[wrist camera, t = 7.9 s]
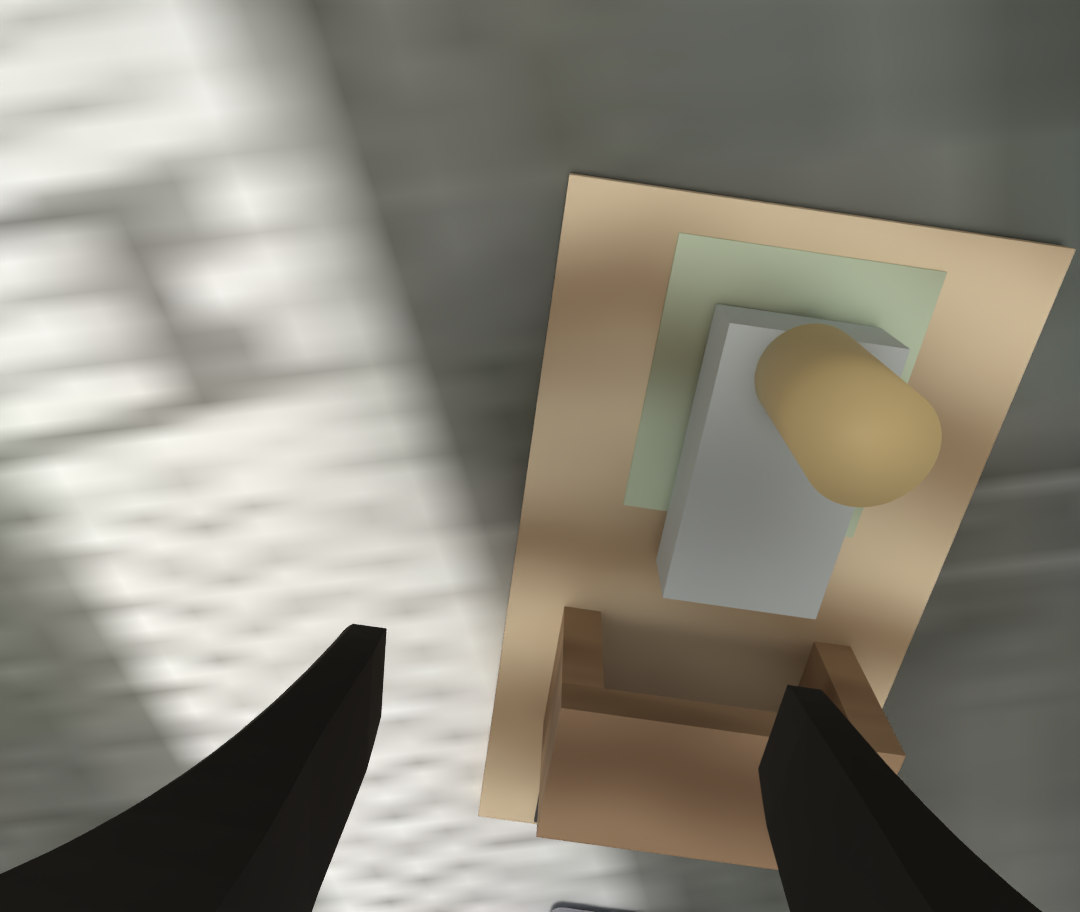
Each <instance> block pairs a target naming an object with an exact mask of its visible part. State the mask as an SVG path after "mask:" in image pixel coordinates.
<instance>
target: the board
mask: <svg viewBox="0 0 1080 912" xmlns="http://www.w3.org/2000/svg"><path fill="white" fill-rule="evenodd" d="M1075 250H1076V249H1073V248H1069V247H1066V246H1062V245H1055V244H1048V243H1042V242H1035V241H1028V240H1021V239H1015V238H1008V237H1001V236H994V235H988V234H981V233H974V232H967V231H961V230H954V229H947V228H940V227H933V226H927V225H920V224H913V223H906V222H900V221H893V220H886V219H879V218H873V217H866V216H859V215H852V214H845V213H839V212H832V211H825V210H818V209H812V208H805V207H798V206H791V205H785V204H778V203H771V202H764V201H757V200H751V199H744V198H737V197H730V196H724V195H717V194H710V193H703V192H697V191H690V190H683V189H676V188H670V187H663V186H656V185H649V184H642V183H636V182H629V181H622V180H615V179H609V178H602V177H595V176H588V175H582V174H575V173H570V175H569V182H568V189H567V196H566V203H565V210H564V217H563V224H562V231H561V238H560V245H559V252H558V259H557V266H556V273H555V280H554V287H553V294H552V301H551V308H550V315H549V322H548V329H547V336H546V343H545V350H544V357H543V364H542V371H541V378H540V385H539V392H538V399H537V406H536V414H535V421H534V428H533V435H532V442H531V449H530V456H529V463H528V470H527V477H526V484H525V491H524V498H523V505H522V512H521V519H520V526H519V533H518V540H517V547H516V554H515V561H514V568H513V575H512V582H511V589H510V596H509V603H508V610H507V617H506V624H505V631H504V638H503V645H502V652H501V659H500V666H499V673H498V680H497V688H496V695H495V702H494V709H493V716H492V723H491V730H490V737H489V744H488V751H487V758H486V765H485V772H484V779H483V786H482V793H481V800H480V807H479V814H478V816H482V817H489V818H496V819H503V820H511V821H518V822H525V823H532V824H537V819H538V802H539V786H540V769H541V753H542V736H543V722H544V716H545V711H546V705H547V700H548V694H549V688H550V683H551V677H552V672H553V666H554V661H555V655H556V650H557V644H558V638H559V633H560V627H561V622H562V616H563V611H564V606H566V607H573V608H580V609H587V610H594V611H601V624H602V648H603V672H604V688H605V689H612V690H620V691H627V692H634V693H641V694H648V695H655V696H663V697H670V698H677V699H684V700H691V701H698V702H705V703H713V704H720V705H727V706H734V707H741V708H748V709H756V710H763V711H770V712H777V713H778V710H779V707H780V704H781V701H782V699H783V696H784V693H785V690H786V687H787V685H793V686H799V683H800V680H801V677H802V674H803V672H804V669H805V666H806V663H807V660H808V657H809V655H810V652H811V649H812V646H813V643H814V642H821V643H828V644H835V645H843V646H850V647H851V648H852V650H853V652H854V654H855V656H856V658H857V660H858V662H859V664H860V666H861V668H862V670H863V672H864V674H865V676H866V678H867V680H868V682H869V684H870V686H871V688H872V690H873V692H874V694H875V696H876V698H877V700H878V702H879V704H880V706H881V708H883V706H884V703H885V701H886V698H887V696H888V694H889V691H890V689H891V687H892V684H893V682H894V679H895V677H896V675H897V672H898V670H899V668H900V665H901V663H902V661H903V658H904V656H905V653H906V651H907V649H908V646H909V644H910V642H911V639H912V637H913V634H914V632H915V630H916V627H917V625H918V623H919V620H920V618H921V615H922V613H923V611H924V608H925V606H926V604H927V601H928V599H929V596H930V594H931V592H932V589H933V587H934V585H935V582H936V580H937V578H938V575H939V573H940V570H941V568H942V566H943V563H944V561H945V559H946V556H947V554H948V551H949V549H950V547H951V544H952V542H953V540H954V537H955V535H956V532H957V530H958V528H959V525H960V523H961V521H962V518H963V516H964V513H965V511H966V509H967V506H968V504H969V502H970V499H971V497H972V494H973V492H974V490H975V487H976V485H977V483H978V480H979V478H980V476H981V473H982V471H983V468H984V466H985V464H986V461H987V459H988V457H989V454H990V452H991V449H992V447H993V445H994V442H995V440H996V438H997V435H998V433H999V430H1000V428H1001V426H1002V423H1003V421H1004V419H1005V416H1006V414H1007V411H1008V409H1009V407H1010V404H1011V402H1012V400H1013V397H1014V395H1015V393H1016V390H1017V388H1018V385H1019V383H1020V381H1021V378H1022V376H1023V374H1024V371H1025V369H1026V366H1027V364H1028V362H1029V359H1030V357H1031V355H1032V352H1033V350H1034V347H1035V345H1036V343H1037V340H1038V338H1039V336H1040V333H1041V331H1042V328H1043V326H1044V324H1045V321H1046V319H1047V317H1048V314H1049V312H1050V309H1051V307H1052V305H1053V302H1054V300H1055V298H1056V295H1057V293H1058V291H1059V288H1060V286H1061V283H1062V281H1063V279H1064V276H1065V274H1066V272H1067V269H1068V267H1069V264H1070V262H1071V260H1072V257H1073V255H1074V253H1075ZM716 304H722V305H728V306H735V307H742V308H749V309H756V310H763V311H769V312H776V313H783V314H790V315H797V316H804V317H811V318H817V319H824V320H831V321H838V322H845V323H852V324H858V325H865V326H872V327H879V328H882V329H883V330H884V331H886V332H887V333H889V334H890V335H891V336H893V337H894V338H896V339H897V340H898V341H900V342H901V343H903V344H904V345H905V346H907V347H908V348H909V349H910V352H909V355H908V358H907V361H906V364H905V367H904V369H903V372H902V375H901V379H902V380H903V381H905V382H906V383H907V384H908V385H909V386H911V387H912V388H913V389H914V390H915V391H917V392H918V393H919V394H920V395H921V396H923V397H924V398H925V399H926V400H927V401H928V402H929V403H930V404H931V406H932V407H933V408H934V410H935V412H936V414H937V416H938V418H939V421H940V425H941V432H942V441H941V447H940V451H939V455H938V458H937V460H936V462H935V464H934V466H933V467H932V469H931V471H930V472H929V474H928V475H927V476H926V477H925V478H924V480H923V481H922V482H921V483H920V484H919V485H918V486H916V487H915V488H914V489H913V490H911V491H910V492H909V493H907V494H905V495H904V496H902V497H900V498H898V499H896V500H894V501H891V502H889V503H886V504H882V505H878V506H872V507H855V509H854V512H853V515H852V517H851V520H850V523H849V526H848V529H847V532H846V534H845V537H844V540H843V543H842V546H841V549H840V552H839V554H838V557H837V560H836V563H835V566H834V569H833V571H832V574H831V577H830V580H829V583H828V586H827V589H826V591H825V594H824V597H823V600H822V603H821V606H820V609H819V611H818V614H817V617H816V619H809V618H802V617H795V616H788V615H781V614H774V613H767V612H760V611H753V610H746V609H739V608H732V607H724V606H717V605H710V604H703V603H696V602H689V601H682V600H675V599H668V598H662V592H661V586H660V580H659V574H658V568H657V562H656V558H657V554H658V550H659V545H660V541H661V537H662V532H663V528H664V524H665V520H666V515H667V511H668V507H669V503H670V498H671V494H672V490H673V485H674V481H675V477H676V473H677V468H678V464H679V460H680V456H681V451H682V447H683V443H684V438H685V434H686V430H687V426H688V421H689V417H690V413H691V409H692V404H693V400H694V396H695V392H696V387H697V383H698V379H699V374H700V370H701V366H702V362H703V357H704V353H705V349H706V345H707V340H708V336H709V332H710V327H711V323H712V319H713V315H714V310H715V306H716Z"/></svg>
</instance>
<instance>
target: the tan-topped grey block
mask: <svg viewBox="0 0 1080 912" xmlns="http://www.w3.org/2000/svg"><path fill="white" fill-rule="evenodd" d="M909 352H910V349H909V348H908V347H907V346H905V345H904V344H903V343H901V342H900V341H898V340H897V339H896V338H894V337H893V336H891V335H890V334H889V333H887V332H886V331H884V330H883V329H882V328H879V327H872V326H865V325H858V324H852V323H845V322H838V321H831V320H824V319H817V318H811V317H804V316H797V315H790V314H783V313H776V312H769V311H763V310H756V309H749V308H742V307H735V306H728V305H722V304H716V306H715V310H714V315H713V319H712V323H711V327H710V332H709V336H708V340H707V345H706V349H705V353H704V357H703V362H702V366H701V370H700V374H699V379H698V383H697V387H696V392H695V396H694V400H693V404H692V409H691V413H690V417H689V421H688V426H687V430H686V434H685V438H684V443H683V447H682V451H681V456H680V460H679V464H678V468H677V473H676V477H675V481H674V485H673V490H672V494H671V498H670V503H669V507H668V511H667V515H666V520H665V524H664V528H663V532H662V537H661V541H660V545H659V550H658V554H657V558H656V562H657V568H658V574H659V580H660V586H661V592H662V598H668V599H675V600H682V601H689V602H696V603H703V604H710V605H717V606H724V607H732V608H739V609H746V610H753V611H760V612H767V613H774V614H781V615H788V616H795V617H802V618H809V619H816V617H817V614H818V611H819V609H820V606H821V603H822V600H823V597H824V594H825V591H826V589H827V586H828V583H829V580H830V577H831V574H832V571H833V569H834V566H835V563H836V560H837V557H838V554H839V552H840V549H841V546H842V543H843V540H844V537H845V534H846V532H847V529H848V526H849V523H850V520H851V517H852V515H853V512H854V509H855V507H872V506H878V505H882V504H886V503H889V502H891V501H894V500H896V499H898V498H900V497H902V496H904V495H905V494H907V493H909V492H910V491H911V490H913V489H914V488H915V487H916V486H918V485H919V484H920V483H921V482H922V481H923V480H924V478H925V477H926V476H927V475H928V474H929V472H930V471H931V469H932V467H933V466H934V464H935V462H936V460H937V458H938V455H939V451H940V447H941V441H942V432H941V425H940V421H939V418H938V416H937V414H936V412H935V410H934V408H933V407H932V406H931V404H930V403H929V402H928V401H927V400H926V399H925V398H924V397H923V396H921V395H920V394H919V393H918V392H917V391H915V390H914V389H913V388H912V387H911V386H909V385H908V384H907V383H906V382H905V381H903V380H902V379H901V375H902V372H903V369H904V367H905V364H906V361H907V358H908V355H909Z"/></svg>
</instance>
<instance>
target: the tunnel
mask: <svg viewBox="0 0 1080 912" xmlns="http://www.w3.org/2000/svg"><path fill="white" fill-rule="evenodd" d="M799 686H800V687H807V688H814V689H821V690H822V691H823V692H824V693H825V694H826V695H827V696H828V697H829V698H830V700H831V701H832V702H833V703H834V704H835V705H836V706H837V707H838V709H839V710H840V711H841V712H842V713H843V714H844V716H845V717H846V718H847V719H848V720H849V721H850V722H851V724H852V725H853V726H854V727H855V728H856V729H857V731H858V732H859V733H860V734H861V735H862V736H863V737H864V739H865V740H866V741H867V742H868V743H869V744H870V745H871V747H872V748H873V749H874V750H875V751H876V752H877V753H878V755H879V756H880V757H881V758H882V759H883V760H884V761H885V762H886V764H887V765H888V766H889V767H890V768H891V769H892V770H893V771H894V772H895V774H896V775H897V774H898V772H899V770H900V768H901V766H902V763H903V761H904V759H905V757H906V755H905V753H904V751H903V749H902V747H901V745H900V743H899V741H898V739H897V737H896V735H895V733H894V731H893V730H892V728H891V726H890V724H889V722H888V720H887V718H886V716H885V714H884V712H883V710H882V708H881V706H880V704H879V702H878V700H877V698H876V696H875V694H874V692H873V690H872V688H871V686H870V684H869V682H868V680H867V678H866V676H865V674H864V672H863V670H862V668H861V666H860V664H859V662H858V660H857V658H856V656H855V654H854V652H853V650H852V648H851V647H850V646H843V645H835V644H828V643H821V642H814V643H813V646H812V649H811V652H810V655H809V657H808V660H807V663H806V666H805V669H804V672H803V674H802V677H801V680H800V683H799ZM776 716H777V712H770V711H763V710H756V709H748V708H741V707H734V706H727V705H720V704H713V703H705V702H698V701H691V700H684V699H677V698H670V697H663V696H655V695H648V694H641V693H634V692H627V691H620V690H612V689H605V688H604V672H603V648H602V624H601V611H594V610H587V609H580V608H573V607H566V606H564V611H563V616H562V622H561V627H560V633H559V638H558V644H557V650H556V655H555V661H554V666H553V672H552V677H551V683H550V688H549V694H548V700H547V705H546V711H545V716H544V722H543V736H542V753H541V769H540V786H539V802H538V819H537V836H536V837H541V838H549V839H556V840H563V841H570V842H578V843H585V844H592V845H600V846H607V847H614V848H621V849H629V850H636V851H643V852H651V853H658V854H665V855H672V856H680V857H687V858H694V859H702V860H709V861H716V862H724V863H731V864H738V865H745V866H753V867H760V868H767V869H775V870H778V867H777V863H776V859H775V856H774V852H773V848H772V845H771V841H770V837H769V833H768V830H767V826H766V820H765V814H764V808H763V801H762V794H761V787H760V779H759V772H758V768H759V765H760V762H761V759H762V756H763V753H764V750H765V748H766V745H767V742H768V739H769V736H770V733H771V730H772V727H773V725H774V722H775V719H776Z"/></svg>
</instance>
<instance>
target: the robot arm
mask: <svg viewBox="0 0 1080 912" xmlns="http://www.w3.org/2000/svg"><path fill="white" fill-rule="evenodd" d="M385 645H386V628H379V627H372V626H365V625H357V624H352V625H350V626H349V627H347V628H346V629H345V630H344V631H343V632H342V633H341V634H340V636H339V637H338V638H337V639H336V640H335V641H334V642H333V643H332V644H331V646H330V647H329V648H328V649H327V650H326V651H325V652H324V653H323V654H322V655H321V656H320V657H319V658H318V659H317V660H316V661H315V662H314V663H313V665H312V666H311V667H310V668H309V669H308V670H307V671H306V672H305V673H304V674H303V675H302V676H301V677H299V678H298V679H297V680H296V681H295V682H294V683H293V684H292V685H291V686H290V687H289V688H288V689H287V690H286V691H285V692H284V693H283V694H282V695H281V696H280V697H279V698H278V699H276V700H275V701H274V702H273V703H272V704H271V705H270V706H269V707H268V708H266V709H265V710H264V711H263V712H262V713H261V714H259V715H258V716H257V717H256V718H255V719H254V720H252V721H251V722H250V723H249V724H248V725H247V726H245V727H244V728H243V729H242V730H241V731H240V732H238V733H237V734H236V735H235V736H233V737H232V738H231V739H230V740H228V741H227V742H226V743H225V744H223V745H222V746H221V747H219V748H218V749H217V750H216V751H214V752H213V753H212V754H210V755H209V756H208V757H206V758H205V759H203V760H202V761H201V762H199V763H198V764H197V765H195V766H194V767H192V768H191V769H190V770H188V771H187V772H185V773H184V774H182V775H181V776H179V777H178V778H176V779H175V780H173V781H172V782H170V783H169V784H167V785H166V786H164V787H163V788H161V789H160V790H158V791H157V792H155V793H154V794H152V795H151V796H149V797H147V798H146V799H144V800H143V801H141V802H139V803H138V804H136V805H134V806H133V807H131V808H130V809H128V810H126V811H124V812H123V813H121V814H119V815H117V816H115V817H114V818H112V819H110V820H108V821H106V822H105V823H103V824H101V825H99V826H98V827H96V828H94V829H92V830H90V831H89V832H87V833H85V834H83V835H81V836H79V837H77V838H75V839H74V840H72V841H70V842H68V843H66V844H64V845H62V846H60V847H58V848H56V849H54V850H52V851H50V852H48V853H45V854H43V855H41V856H39V857H37V858H35V859H32V860H30V861H28V862H26V863H24V864H21V865H19V866H17V867H15V868H13V869H11V870H8V871H6V872H4V873H2V874H0V912H312V909H313V907H314V904H315V901H316V898H317V895H318V892H319V890H320V887H321V885H322V882H323V880H324V877H325V875H326V872H327V870H328V867H329V864H330V862H331V859H332V857H333V854H334V852H335V849H336V847H337V844H338V842H339V839H340V837H341V834H342V832H343V829H344V827H345V824H346V822H347V819H348V817H349V814H350V812H351V809H352V806H353V804H354V801H355V799H356V796H357V794H358V791H359V789H360V786H361V783H362V781H363V778H364V776H365V773H366V770H367V767H368V763H369V760H370V756H371V752H372V749H373V745H374V741H375V738H376V734H377V730H378V726H379V722H380V719H381V709H382V693H383V677H384V661H385ZM758 772H759V779H760V787H761V794H762V801H763V808H764V814H765V820H766V826H767V830H768V833H769V837H770V841H771V845H772V848H773V852H774V856H775V859H776V863H777V867H778V870H779V874H780V877H781V881H782V884H783V888H784V891H785V895H786V899H787V902H788V906H789V909H790V912H1042V911H1041V910H1039V909H1038V908H1037V907H1035V906H1034V905H1033V904H1032V903H1031V902H1029V901H1028V900H1027V899H1026V898H1025V897H1023V896H1022V895H1021V894H1020V893H1019V892H1017V891H1016V890H1015V889H1014V888H1013V887H1011V886H1010V885H1009V884H1008V883H1007V882H1006V881H1005V880H1004V879H1002V878H1001V877H1000V876H999V875H998V874H997V873H996V872H995V871H993V870H992V869H991V868H990V867H989V866H988V865H987V864H986V863H984V862H983V861H982V860H981V859H980V858H979V857H978V856H977V855H975V854H974V853H973V852H972V851H971V850H970V849H969V848H968V847H967V846H966V845H965V844H964V843H963V842H962V841H961V840H959V839H958V838H957V837H956V836H955V835H954V834H953V833H952V832H951V831H950V830H949V829H948V828H947V827H946V826H945V825H944V824H943V823H942V822H941V821H940V820H939V819H938V818H937V817H936V816H935V815H934V814H933V813H932V812H931V811H930V810H929V809H928V808H927V807H926V806H925V805H924V803H923V802H922V801H921V800H920V799H919V798H918V797H917V796H916V795H915V794H914V793H913V792H912V791H911V790H910V789H909V788H908V787H907V785H906V784H905V783H904V782H903V781H902V780H901V779H900V778H899V777H898V776H897V775H896V774H895V772H894V771H893V770H892V769H891V768H890V767H889V766H888V765H887V764H886V762H885V761H884V760H883V759H882V758H881V757H880V756H879V755H878V753H877V752H876V751H875V750H874V749H873V748H872V747H871V745H870V744H869V743H868V742H867V741H866V740H865V739H864V737H863V736H862V735H861V734H860V733H859V732H858V731H857V729H856V728H855V727H854V726H853V725H852V724H851V722H850V721H849V720H848V719H847V718H846V717H845V716H844V714H843V713H842V712H841V711H840V710H839V709H838V707H837V706H836V705H835V704H834V703H833V702H832V701H831V700H830V698H829V697H828V696H827V695H826V694H825V693H824V692H823V691H822V690H821V689H814V688H807V687H800V686H793V685H787V687H786V690H785V693H784V696H783V699H782V701H781V704H780V707H779V710H778V713H777V716H776V719H775V722H774V725H773V727H772V730H771V733H770V736H769V739H768V742H767V745H766V748H765V750H764V753H763V756H762V759H761V762H760V765H759V768H758ZM551 912H593V911H586V910H578V909H571V908H564V907H559V908H555V909H554V910H553V911H551Z"/></svg>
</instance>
